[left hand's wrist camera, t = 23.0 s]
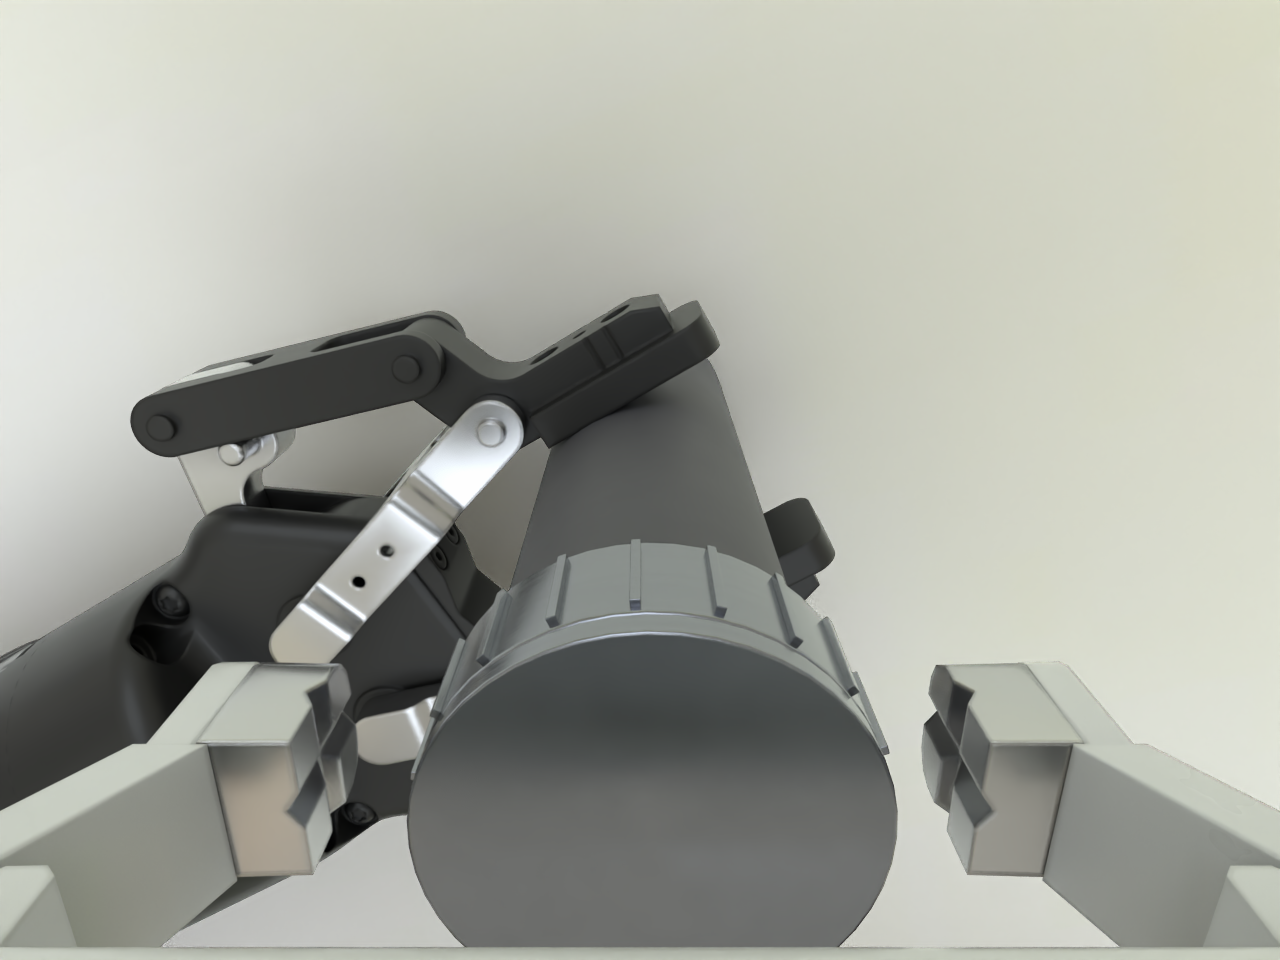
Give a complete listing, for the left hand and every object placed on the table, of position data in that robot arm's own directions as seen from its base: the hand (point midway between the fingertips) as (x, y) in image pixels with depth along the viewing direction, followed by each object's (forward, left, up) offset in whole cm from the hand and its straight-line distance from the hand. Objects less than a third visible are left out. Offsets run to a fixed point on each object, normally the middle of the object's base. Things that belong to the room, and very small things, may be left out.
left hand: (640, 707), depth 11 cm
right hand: (-2, +2, -7) cm, 8 cm away
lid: (0, 0, +2) cm, 2 cm away
